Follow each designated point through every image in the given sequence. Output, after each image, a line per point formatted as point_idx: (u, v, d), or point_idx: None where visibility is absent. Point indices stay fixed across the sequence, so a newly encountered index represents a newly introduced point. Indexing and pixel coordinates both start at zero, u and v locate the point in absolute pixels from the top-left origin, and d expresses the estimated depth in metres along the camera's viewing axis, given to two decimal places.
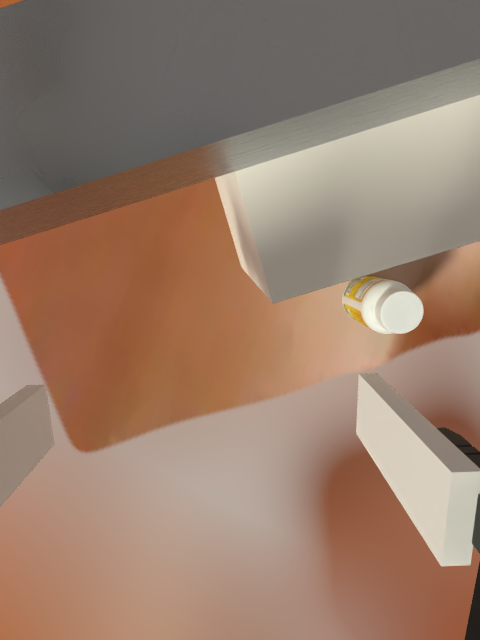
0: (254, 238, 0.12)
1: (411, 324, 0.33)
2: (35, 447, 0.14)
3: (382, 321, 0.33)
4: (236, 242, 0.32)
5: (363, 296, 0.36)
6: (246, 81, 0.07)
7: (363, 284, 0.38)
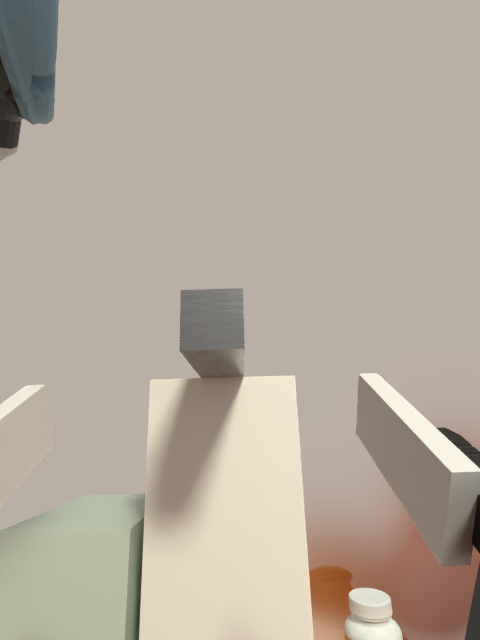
0: (268, 377, 0.30)
1: (380, 593, 0.37)
2: (35, 447, 0.14)
3: (378, 605, 0.35)
4: None
5: None
6: None
7: None
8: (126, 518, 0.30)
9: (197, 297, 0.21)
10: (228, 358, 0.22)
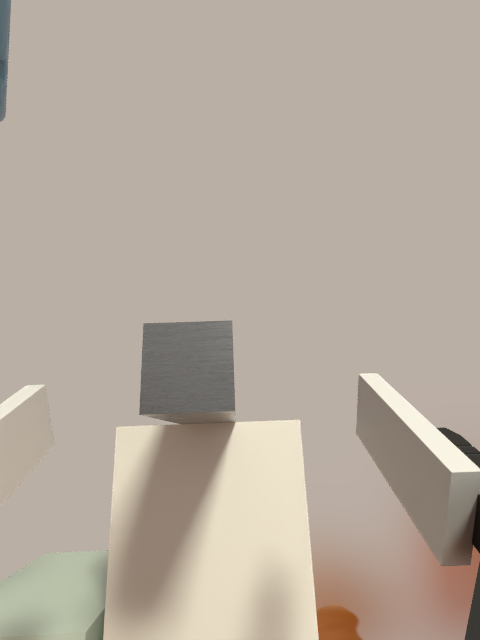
0: (267, 422, 0.24)
1: None
2: (35, 447, 0.14)
3: None
4: None
5: None
6: None
7: None
8: (85, 606, 0.24)
9: (166, 333, 0.14)
10: (213, 415, 0.16)
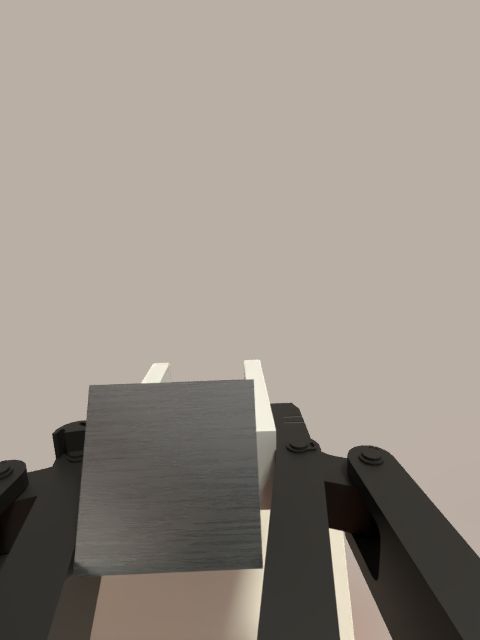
0: None
1: None
2: None
3: None
4: None
5: None
6: None
7: None
8: None
9: (132, 405, 0.08)
10: None
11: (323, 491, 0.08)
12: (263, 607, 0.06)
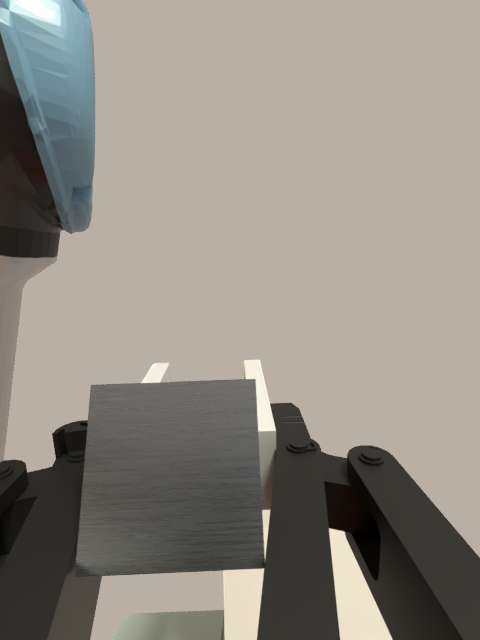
0: None
1: None
2: None
3: None
4: None
5: None
6: None
7: None
8: None
9: (133, 404, 0.08)
10: None
11: (323, 491, 0.08)
12: (263, 607, 0.06)
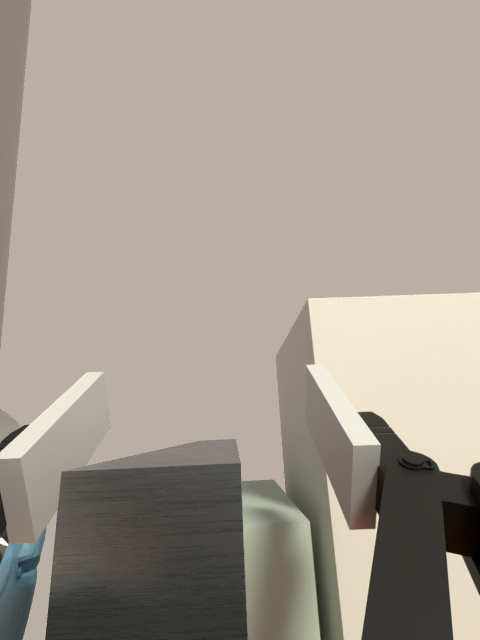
0: None
1: None
2: (98, 428, 0.15)
3: None
4: None
5: None
6: None
7: None
8: (273, 508, 0.20)
9: (108, 494, 0.07)
10: None
11: (441, 517, 0.07)
12: (367, 625, 0.05)
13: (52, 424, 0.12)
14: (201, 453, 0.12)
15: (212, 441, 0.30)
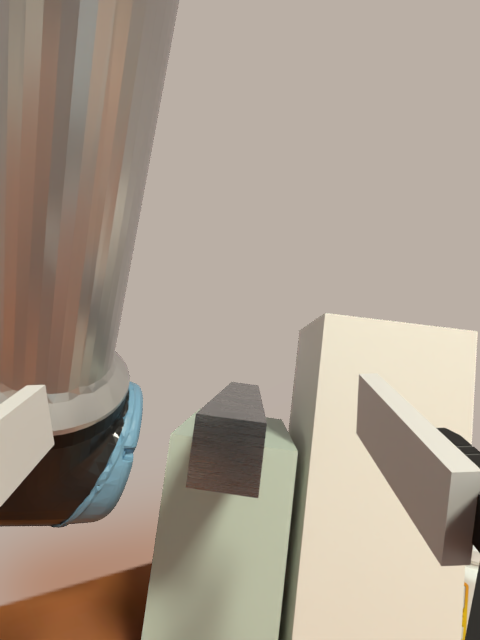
0: (449, 329, 0.29)
1: None
2: (35, 447, 0.14)
3: None
4: (426, 606, 0.27)
5: None
6: (249, 398, 0.29)
7: None
8: (277, 439, 0.32)
9: (213, 425, 0.18)
10: None
11: None
12: None
13: None
14: (245, 408, 0.22)
15: (242, 386, 0.41)
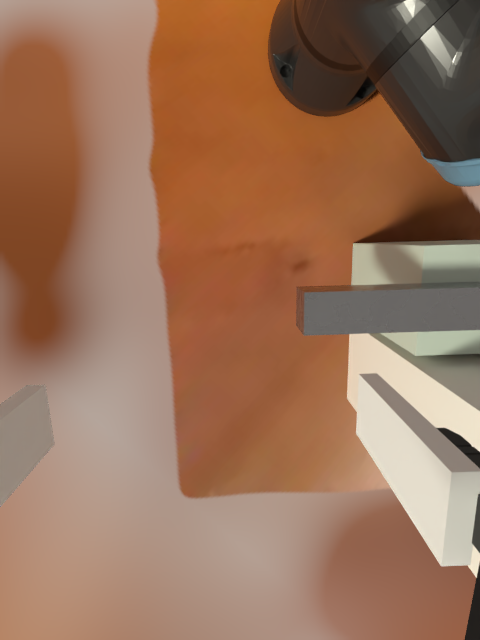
0: None
1: None
2: (35, 447, 0.14)
3: None
4: None
5: None
6: (445, 319, 0.29)
7: None
8: (453, 340, 0.33)
9: (303, 303, 0.29)
10: None
11: None
12: None
13: None
14: (360, 319, 0.29)
15: None
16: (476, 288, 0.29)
